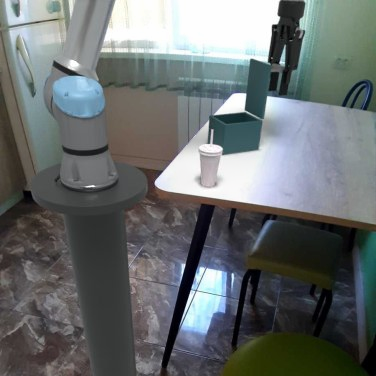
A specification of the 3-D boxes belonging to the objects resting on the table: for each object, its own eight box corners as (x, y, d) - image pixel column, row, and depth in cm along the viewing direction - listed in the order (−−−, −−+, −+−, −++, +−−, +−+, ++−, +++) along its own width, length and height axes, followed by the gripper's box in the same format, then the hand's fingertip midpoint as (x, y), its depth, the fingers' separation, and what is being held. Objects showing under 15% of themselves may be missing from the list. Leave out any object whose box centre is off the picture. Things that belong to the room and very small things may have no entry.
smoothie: (220, 180, 116) (225, 127, 106) (218, 190, 111) (223, 135, 102) (198, 178, 117) (201, 125, 107) (194, 187, 112) (197, 133, 102)
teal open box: (222, 154, 131) (225, 125, 125) (207, 144, 138) (209, 115, 132) (258, 149, 136) (262, 120, 130) (241, 139, 143) (245, 111, 137)
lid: (269, 65, 119) (292, 63, 122) (250, 58, 126) (272, 57, 129) (261, 119, 129) (283, 116, 132) (244, 110, 136) (264, 108, 139)
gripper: (324, 2, 111) (304, 99, 127) (284, -3, 123) (271, 85, 139) (301, 2, 109) (284, 100, 125) (264, -4, 120) (252, 87, 136)
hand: (277, 92), depth 132 cm, fingers closed on lid, 5 cm apart
